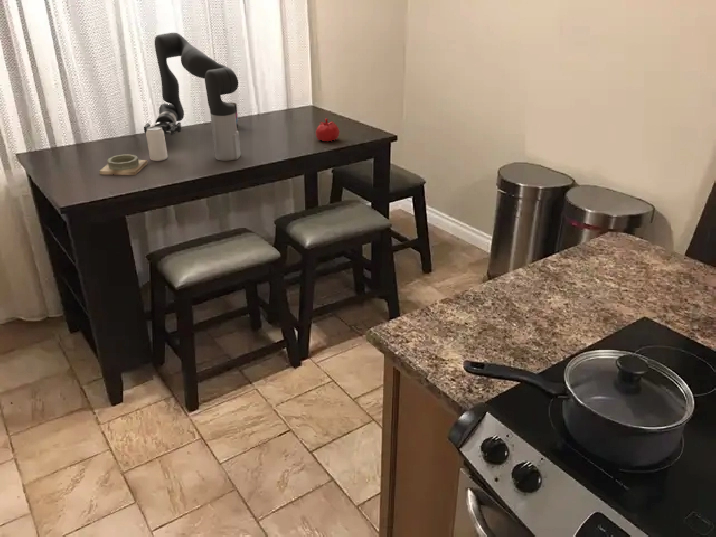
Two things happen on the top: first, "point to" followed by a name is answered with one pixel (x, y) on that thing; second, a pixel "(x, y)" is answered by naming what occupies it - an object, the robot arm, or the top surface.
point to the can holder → (123, 165)
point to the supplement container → (235, 112)
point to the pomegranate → (327, 131)
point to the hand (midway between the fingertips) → (160, 133)
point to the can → (156, 143)
